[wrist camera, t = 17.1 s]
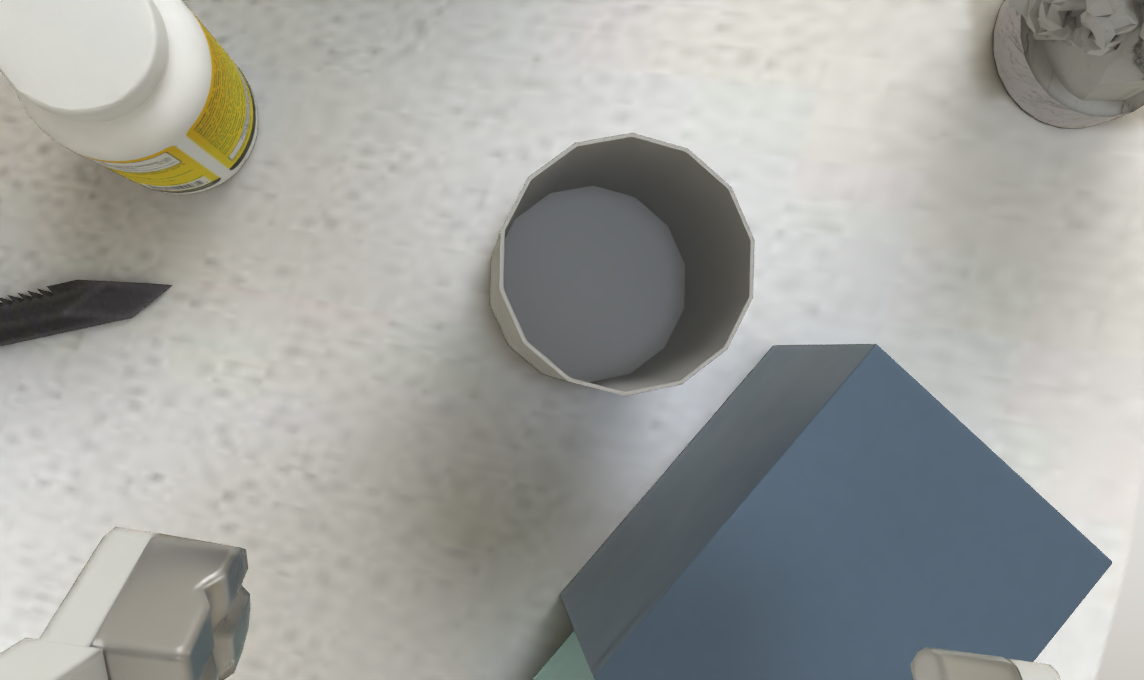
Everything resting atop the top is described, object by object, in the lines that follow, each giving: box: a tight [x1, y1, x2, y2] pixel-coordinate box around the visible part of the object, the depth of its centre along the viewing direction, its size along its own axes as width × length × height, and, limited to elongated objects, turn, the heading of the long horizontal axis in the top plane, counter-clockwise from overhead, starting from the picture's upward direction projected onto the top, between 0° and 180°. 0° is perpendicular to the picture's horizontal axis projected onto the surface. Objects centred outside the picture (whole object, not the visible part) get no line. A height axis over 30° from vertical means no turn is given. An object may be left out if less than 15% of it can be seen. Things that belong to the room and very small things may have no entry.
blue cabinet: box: [560, 344, 1112, 680], centre depth 37 cm, size 14×11×10 cm
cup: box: [490, 133, 754, 396], centre depth 36 cm, size 8×8×10 cm
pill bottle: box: [0, 0, 258, 194], centre depth 34 cm, size 6×6×11 cm
